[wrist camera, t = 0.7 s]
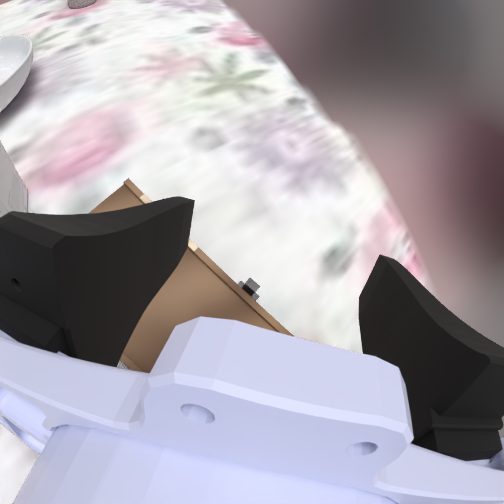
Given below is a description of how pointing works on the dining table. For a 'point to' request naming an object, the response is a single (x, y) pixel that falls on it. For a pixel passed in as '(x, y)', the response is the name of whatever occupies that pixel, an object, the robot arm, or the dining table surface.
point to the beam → (184, 295)
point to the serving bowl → (14, 65)
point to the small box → (11, 186)
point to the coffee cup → (79, 3)
